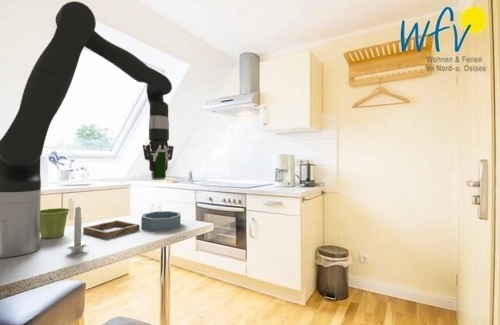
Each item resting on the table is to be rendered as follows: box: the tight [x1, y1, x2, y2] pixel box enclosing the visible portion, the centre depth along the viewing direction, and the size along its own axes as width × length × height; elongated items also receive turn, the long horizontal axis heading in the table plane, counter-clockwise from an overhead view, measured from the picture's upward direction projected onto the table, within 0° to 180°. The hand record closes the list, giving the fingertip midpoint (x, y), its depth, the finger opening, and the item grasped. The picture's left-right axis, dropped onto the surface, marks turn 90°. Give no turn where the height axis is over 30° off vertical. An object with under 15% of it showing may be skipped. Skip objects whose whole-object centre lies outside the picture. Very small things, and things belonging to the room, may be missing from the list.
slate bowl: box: [140, 210, 182, 232], centre depth 103 cm, size 14×14×4 cm
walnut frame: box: [82, 220, 140, 240], centre depth 94 cm, size 13×13×2 cm
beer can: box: [151, 149, 167, 181], centre depth 102 cm, size 5×5×12 cm
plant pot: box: [40, 207, 71, 240], centre depth 86 cm, size 9×9×9 cm
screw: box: [66, 206, 89, 255], centre depth 73 cm, size 13×5×5 cm
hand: (158, 170), depth 102 cm, fingers closed on beer can, 5 cm apart
